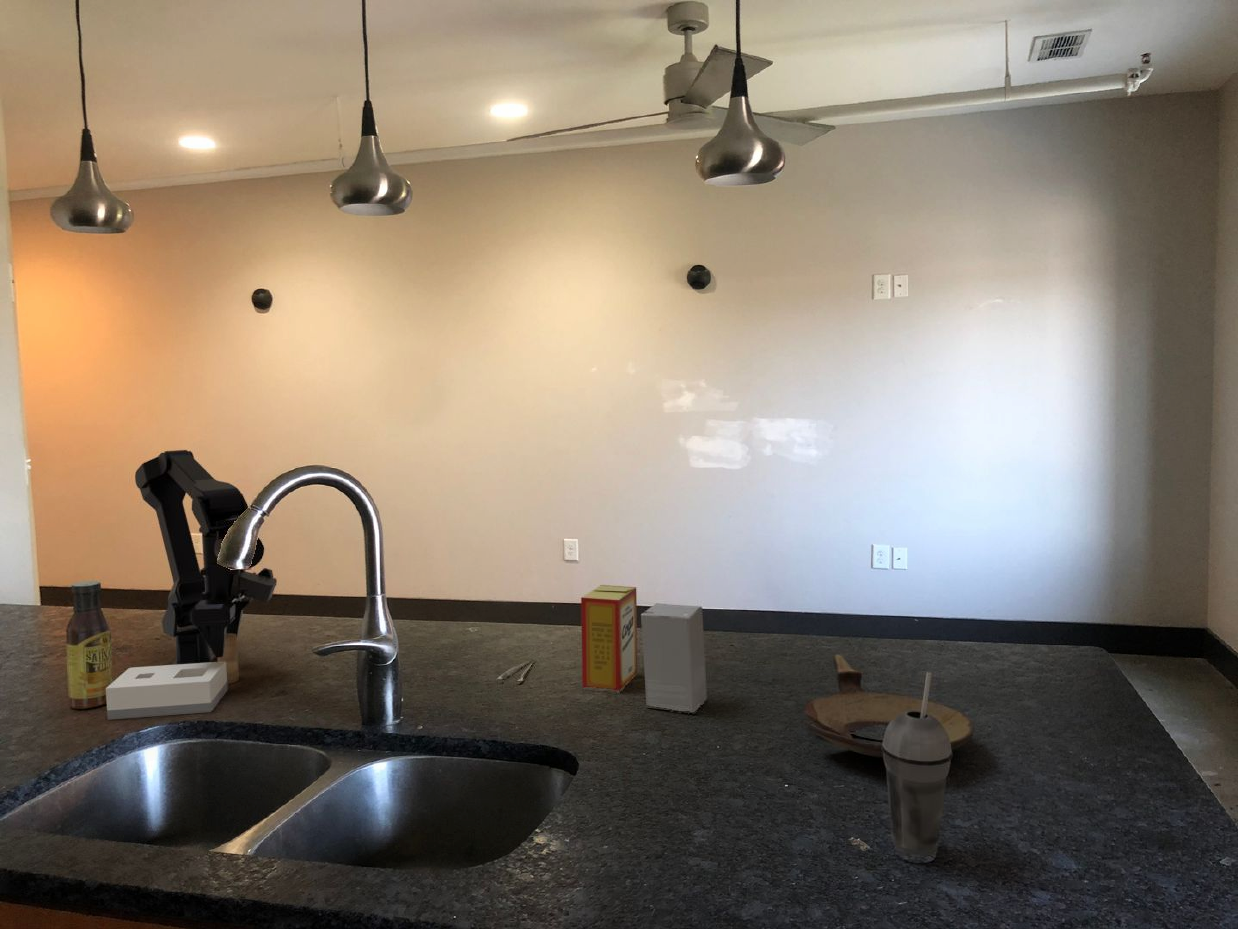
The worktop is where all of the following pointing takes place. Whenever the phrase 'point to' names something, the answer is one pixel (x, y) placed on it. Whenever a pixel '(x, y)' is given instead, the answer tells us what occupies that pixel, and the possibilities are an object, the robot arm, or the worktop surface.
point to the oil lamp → (873, 713)
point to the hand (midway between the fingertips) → (226, 648)
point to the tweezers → (513, 670)
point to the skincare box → (674, 657)
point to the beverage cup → (916, 777)
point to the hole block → (166, 690)
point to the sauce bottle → (88, 648)
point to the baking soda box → (609, 636)
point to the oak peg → (230, 658)
